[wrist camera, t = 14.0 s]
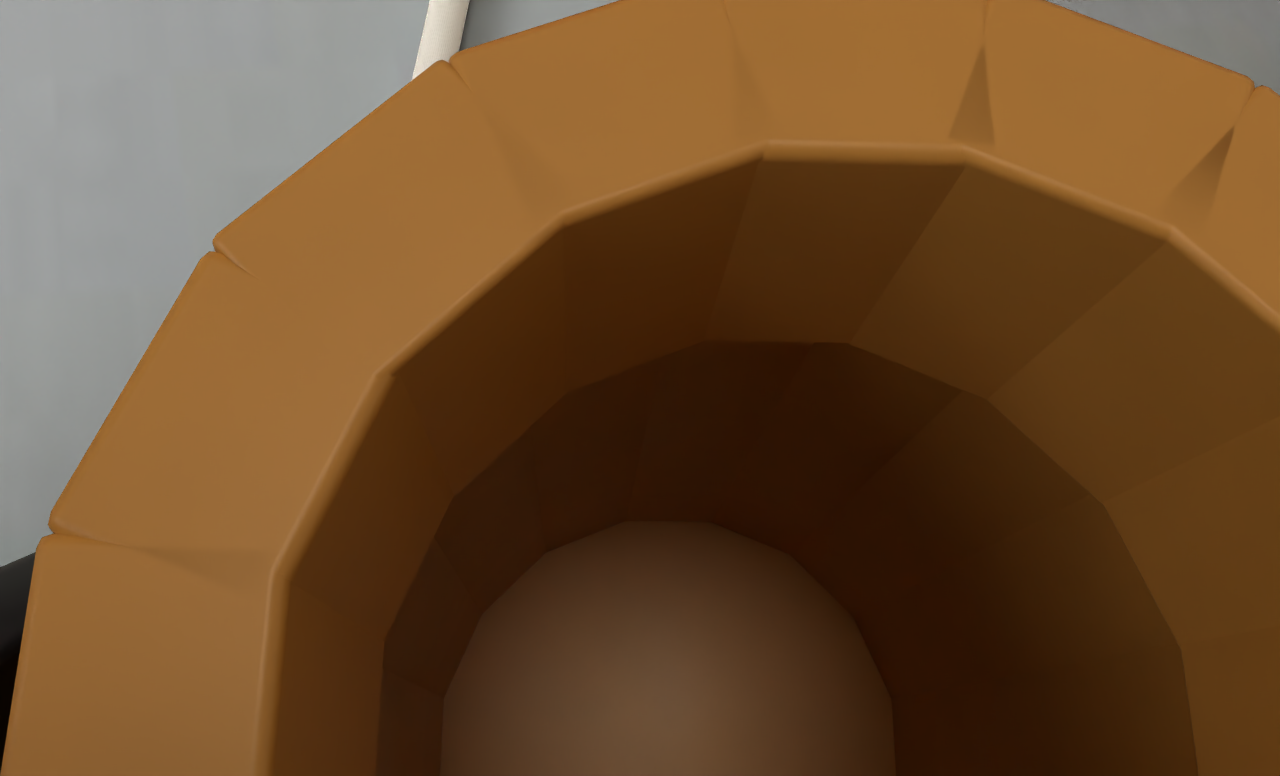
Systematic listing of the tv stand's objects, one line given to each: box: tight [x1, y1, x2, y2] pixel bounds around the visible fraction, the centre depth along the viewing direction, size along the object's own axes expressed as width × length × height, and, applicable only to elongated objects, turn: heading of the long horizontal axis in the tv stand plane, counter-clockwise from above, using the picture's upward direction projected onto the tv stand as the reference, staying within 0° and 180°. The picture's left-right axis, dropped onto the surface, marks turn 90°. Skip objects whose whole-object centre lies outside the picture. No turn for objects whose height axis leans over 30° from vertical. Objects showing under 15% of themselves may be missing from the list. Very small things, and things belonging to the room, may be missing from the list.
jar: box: [0, 0, 1280, 776], centre depth 10 cm, size 7×7×12 cm
